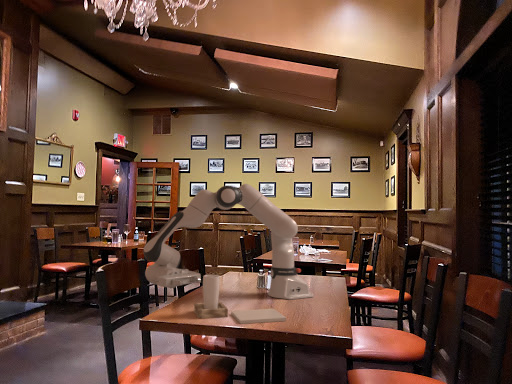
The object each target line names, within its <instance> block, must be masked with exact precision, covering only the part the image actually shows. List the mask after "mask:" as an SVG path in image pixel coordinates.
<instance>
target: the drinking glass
mask: <svg viewBox="0 0 512 384" xmlns="http://www.w3.org/2000/svg"><path fill="white" fill-rule="evenodd" d="M202 277H203V278H202V294H203V295H202V296H203V299H202V300H203V303H204V309H217V307H218V302H219V296H220V289H221V288H220V287H221V276H220V275H219V274H205V275H203V276H202Z"/></svg>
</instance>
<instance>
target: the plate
mask: <svg viewBox="0 0 512 384" xmlns="http://www.w3.org/2000/svg"><path fill="white" fill-rule="evenodd" d="M230 314H231V316H232V317H233V318H234V319H235V320H236V321H237V322H238V323H239V324H240V325H246V324H261V323H274V322H275V323H277V322H287V317H286V316H285V315H283V314H282V313H281V312H279V311H278V310H276V309H275V308H261V309H260V308H259V309H241V310H240V309H239V310H231V312H230Z"/></svg>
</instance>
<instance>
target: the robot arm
mask: <svg viewBox="0 0 512 384" xmlns="http://www.w3.org/2000/svg"><path fill="white" fill-rule="evenodd" d="M236 205H240V206H242V207H243V208H244V209H245V210H246V211H248V213H250V214H251V215H252V216H253V217H254V218H255V219H257V220H258V221H259V222H260V223H261V224H262V225H264V226H265V227H267V228H268V229H269V230H270V239H271V250H272V251H271V252H272V254H271V255H272V257H271V266H270V267H271V268H270V278H271V279H270V286H269V291H268V296H269V297H272V298H276V299H286V300H297V299H298V300H299V299H307V298H313V297H314V293H313V292H311V291H310V289H309V284H308V282H306V280H305V279H304V278H302V277H301V276H300V275H298V273H301V272H302V269H301V268H297V267H295V249H294V242H293V238H294V237H296V235H297V234H298V232H299V228H298V227H299V226H298V224H297V222H296V221H295V220H294V219H293V218H292V217H290V215H288V214H287V213H286V212H284V210H282V209H280V208H279V207H278V206H276V205H275V204H274V203H272V201H271V200H270V199H269V198H267V197H266V196H265V195H264V194H263V193H262V192H260V190H258V189H256V188H255V187H254V186H252V185H251V184H248V183H243V184H241V185H240V186H238V187H236V186H232V185H223V186H221V187H220V188H218V190H216V191H215V192H213V191H211V190H208V189H200V190H199V191H198V192H197V194H195V196H193V198H192V199H191V201H190V202H189V203H188V205H187V206H186V207H185V208H184V209H183V210H181V211H177V212H176V213H174V214H173V215H172V216H171V217H170V218H169V219H168V221H166V223H164V225H162V227H161V228H160V229H159V230H158V231H157V233H156V234H154V236H153V237H151V238H150V239H149V240H148V241H146V243H145V244H144V246H143V249H142V250H143V256H144V259H145V260H146V261H149V262H151V263H152V264H151V265H148V267H147V268H146V269H145V272H144V276H145V278H146V280H147V281H148V282H149V283H151V284H154V285H157V286H160V287H162V288H169V289H174V288H176V287H179V286H184V285H189V284H200V283H202V279H201V278H202V277H201V273H199V272H195V271H192V270H189V269H188V268H179V266H180V263H181V253H180V251H179V250H177V249H175V248H174V247H171V246H170V245H168V244H166V241H168V239H169V238H170V236H172V234H173V233H174V232H175V231H176V230H177V229H179V228H190V229H197V228H199V227H201V226H202V225H203V224H204V223H205V222H206V220H207V219H208V217H209V216H210V214H211V212H212V211H213V210H214V209H218V210H220V211H221V210H222V211H228V210H230V209H233V208H234V207H235V206H236Z"/></svg>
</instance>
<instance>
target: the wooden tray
mask: <svg viewBox="0 0 512 384" xmlns="http://www.w3.org/2000/svg"><path fill="white" fill-rule="evenodd" d="M193 305H194V308H193V309H194V310H193V311H194V313H195V315H196V318H197V319H198V320H199V319H200V320H201V319H215V318H228V317H229V309H228V308H227V306H226V305H225V304H224V303H223V302H222V301H221V302H219V301H218V307H217V309H204V302H203V303H202V302H200V303H199V302H198V303H194V304H193Z"/></svg>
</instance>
